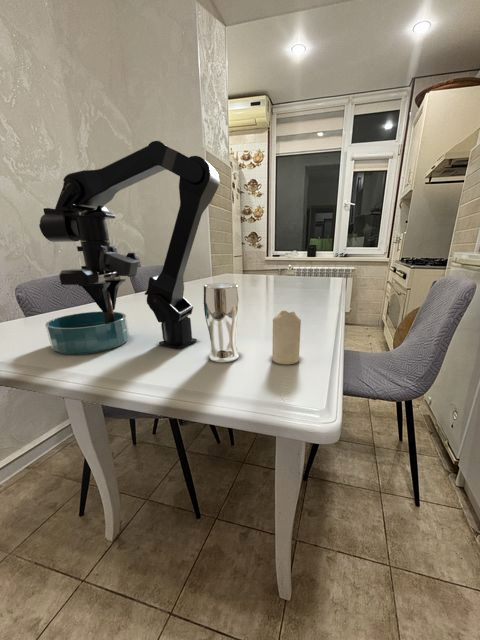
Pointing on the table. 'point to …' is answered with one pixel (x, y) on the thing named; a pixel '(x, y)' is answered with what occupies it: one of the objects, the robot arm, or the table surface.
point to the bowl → (86, 333)
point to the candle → (286, 338)
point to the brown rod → (109, 310)
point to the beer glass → (222, 320)
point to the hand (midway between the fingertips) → (109, 311)
